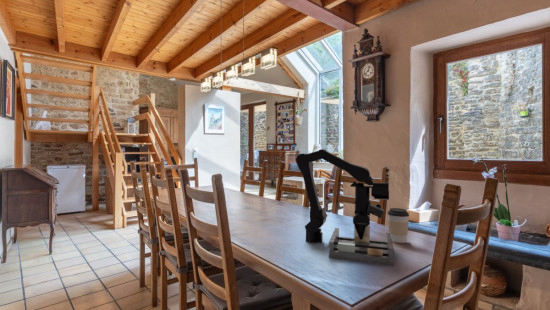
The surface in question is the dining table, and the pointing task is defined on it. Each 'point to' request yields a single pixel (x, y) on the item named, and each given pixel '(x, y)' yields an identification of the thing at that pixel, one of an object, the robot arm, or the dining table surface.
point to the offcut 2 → (375, 251)
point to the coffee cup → (398, 224)
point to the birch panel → (365, 238)
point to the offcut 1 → (346, 247)
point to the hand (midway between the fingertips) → (361, 236)
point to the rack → (362, 250)
